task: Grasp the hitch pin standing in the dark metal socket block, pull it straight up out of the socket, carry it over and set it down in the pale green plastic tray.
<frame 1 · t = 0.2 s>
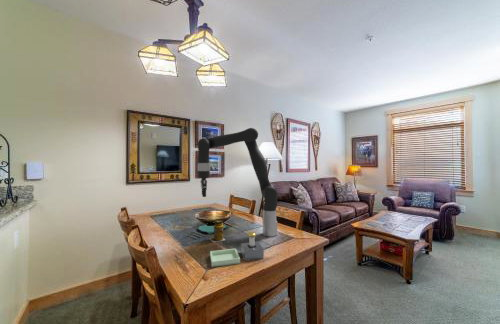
hand: (203, 195, 131), 29 cm above the table, fingers open, 8 cm apart
cutlery set: (206, 231, 150), on the table
condiment: (217, 239, 134), on the table
tray: (224, 259, 107), on the table
pin: (251, 244, 112), in the socket block
socket block: (251, 255, 112), on the table
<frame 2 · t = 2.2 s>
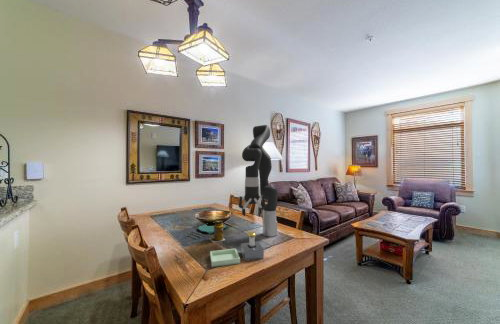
hand: (251, 215, 111), 22 cm above the table, fingers open, 8 cm apart
nothing on the table moved.
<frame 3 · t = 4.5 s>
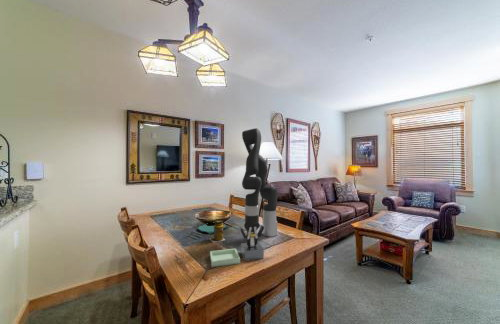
hand: (251, 244, 112), 6 cm above the table, fingers closed on pin, 3 cm apart
pin: (251, 244, 112), in the socket block, touching gripper
everything else where it was.
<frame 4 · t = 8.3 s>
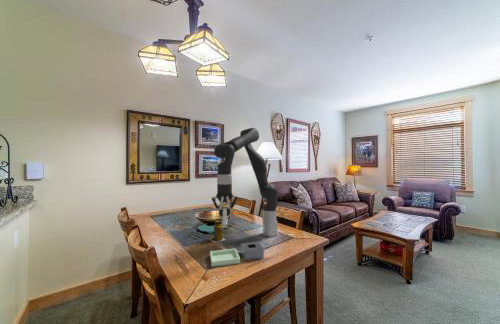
hand: (224, 216, 107), 23 cm above the table, fingers closed on pin, 3 cm apart
pin: (224, 215, 107), point 23 cm above the table, touching gripper
everything else where it was.
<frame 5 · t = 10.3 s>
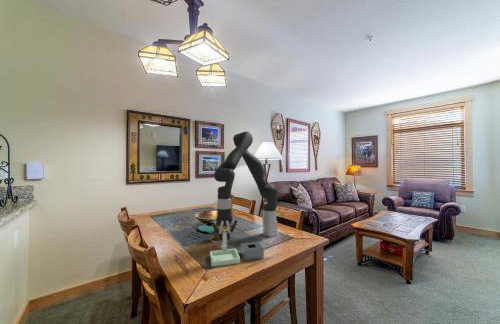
hand: (224, 239, 107), 10 cm above the table, fingers closed on pin, 3 cm apart
pin: (224, 239, 107), point 11 cm above the table, touching gripper
everything else where it was.
when the fingers open (7 cm above the table, at t = 11.8 s): pin stays where it is, resting on tray.
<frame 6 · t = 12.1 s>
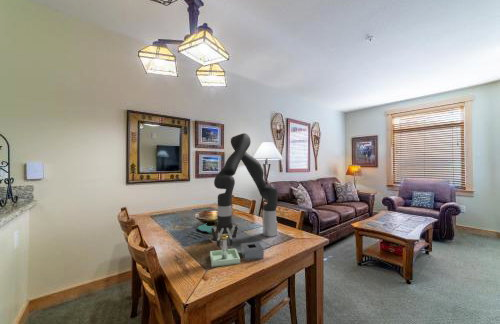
hand: (224, 246, 107), 7 cm above the table, fingers open, 5 cm apart
pin: (224, 246, 107), in the tray, point 7 cm above the table
everything else where it was.
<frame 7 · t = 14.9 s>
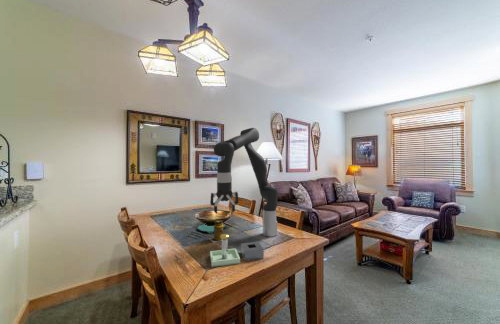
hand: (224, 212, 106), 25 cm above the table, fingers open, 8 cm apart
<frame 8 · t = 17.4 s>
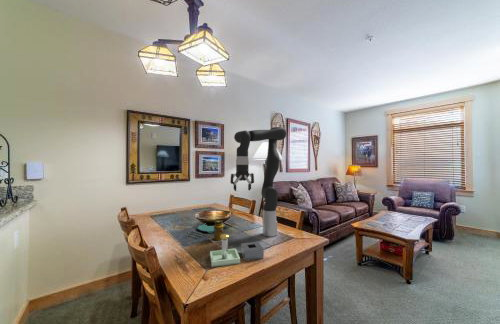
hand: (242, 190, 125), 33 cm above the table, fingers open, 8 cm apart
at the end: pin inside the target area on the tray (0.1 cm from its centre), point 6.6 cm above the tray's base; pin touching tray; the gripper is holding nothing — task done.
